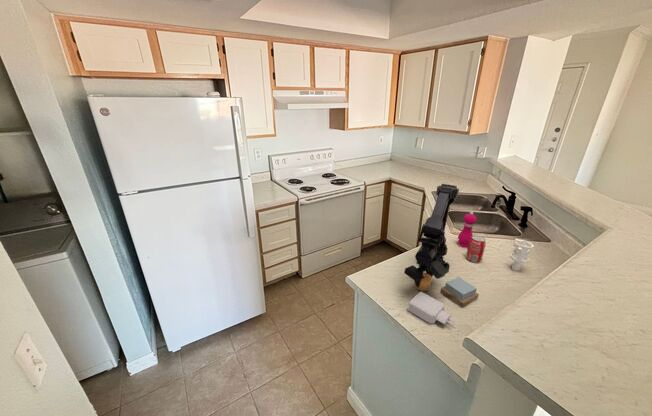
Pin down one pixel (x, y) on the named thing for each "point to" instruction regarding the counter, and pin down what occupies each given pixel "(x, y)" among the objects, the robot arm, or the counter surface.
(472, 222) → the pepper mill
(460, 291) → the block
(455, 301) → the tower base
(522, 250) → the white tall piece
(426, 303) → the charger
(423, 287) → the orange cylinder
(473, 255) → the soda can
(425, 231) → the robot arm
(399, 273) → the counter surface
